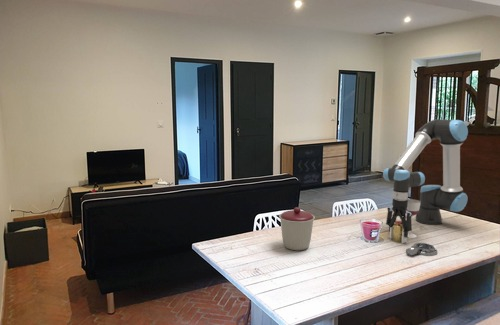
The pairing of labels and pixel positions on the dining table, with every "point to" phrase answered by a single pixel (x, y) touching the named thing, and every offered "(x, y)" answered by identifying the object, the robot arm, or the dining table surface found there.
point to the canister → (296, 228)
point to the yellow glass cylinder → (397, 231)
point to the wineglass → (413, 211)
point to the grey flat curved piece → (421, 249)
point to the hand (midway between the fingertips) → (397, 240)
